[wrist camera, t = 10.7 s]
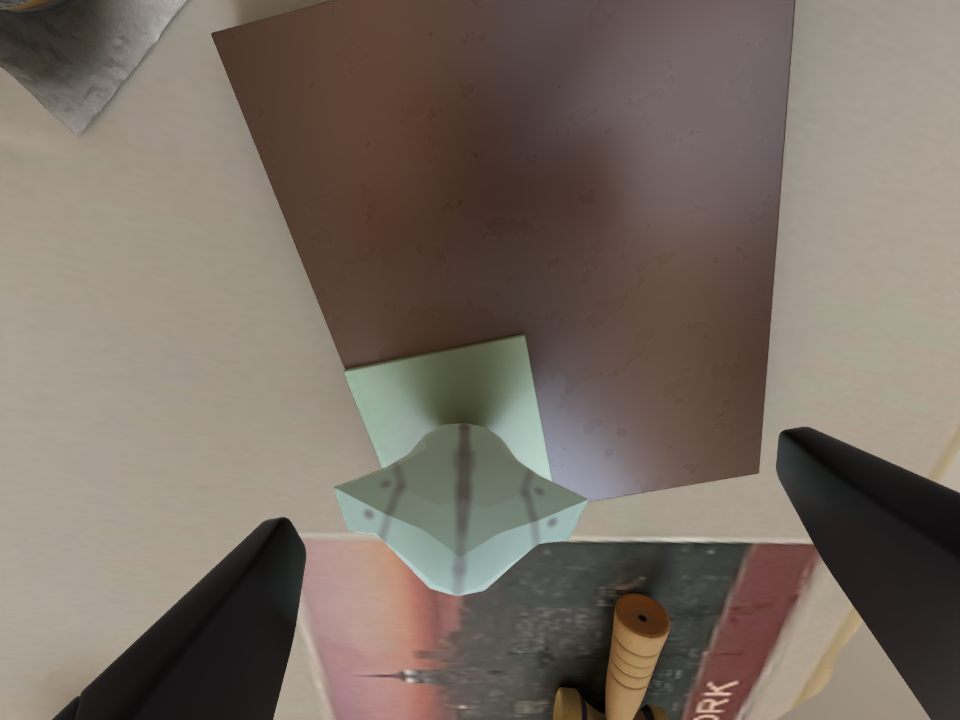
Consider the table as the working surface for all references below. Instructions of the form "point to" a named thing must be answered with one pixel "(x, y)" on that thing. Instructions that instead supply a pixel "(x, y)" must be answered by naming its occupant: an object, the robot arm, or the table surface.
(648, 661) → the kendama
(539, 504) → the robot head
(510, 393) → the walnut board
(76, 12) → the condiment
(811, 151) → the table surface
